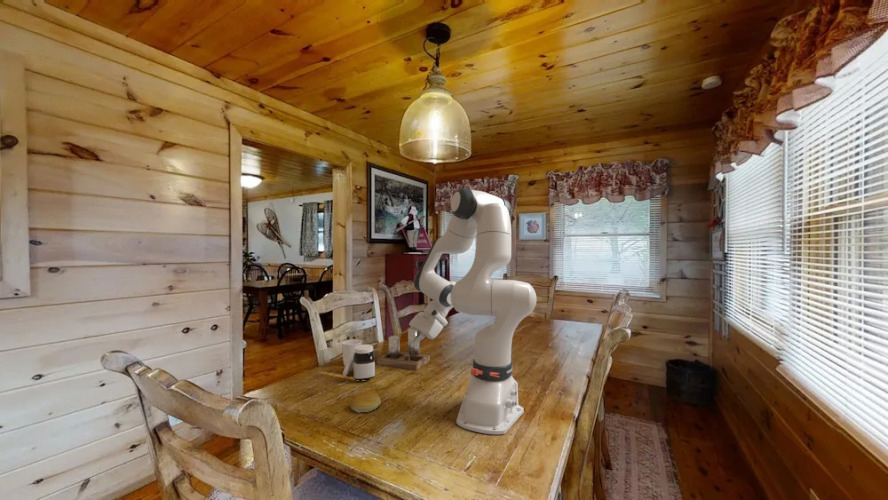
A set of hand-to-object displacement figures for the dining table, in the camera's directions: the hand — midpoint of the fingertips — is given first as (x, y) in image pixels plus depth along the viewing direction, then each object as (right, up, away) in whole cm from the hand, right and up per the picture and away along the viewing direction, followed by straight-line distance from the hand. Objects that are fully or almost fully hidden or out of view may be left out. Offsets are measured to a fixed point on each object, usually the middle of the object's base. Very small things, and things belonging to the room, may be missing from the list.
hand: (412, 340), depth 137 cm
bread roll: (-11, -12, -34) cm, 37 cm away
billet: (+1, -5, 0) cm, 5 cm away
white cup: (-25, -11, +1) cm, 27 cm away
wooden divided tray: (-4, -11, +2) cm, 11 cm away
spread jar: (-19, -11, -11) cm, 25 cm away
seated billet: (-8, -9, +4) cm, 13 cm away
